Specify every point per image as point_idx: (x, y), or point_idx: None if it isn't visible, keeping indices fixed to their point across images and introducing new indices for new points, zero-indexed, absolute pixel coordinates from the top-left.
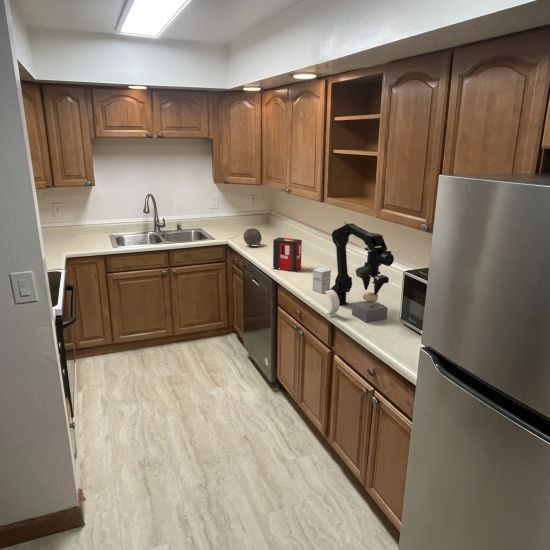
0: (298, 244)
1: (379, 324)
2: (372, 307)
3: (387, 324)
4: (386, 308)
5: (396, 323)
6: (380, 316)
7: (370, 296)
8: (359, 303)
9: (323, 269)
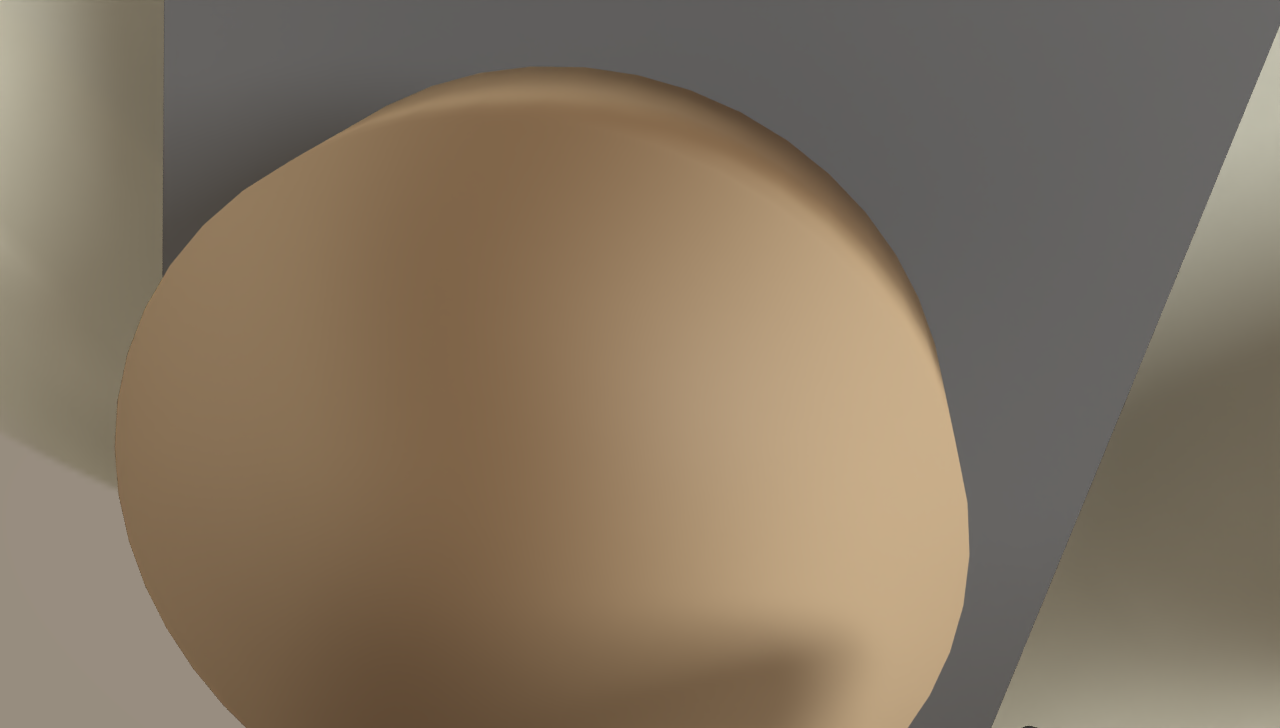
0: None
1: (147, 8)
2: None
3: (74, 183)
4: None
5: (50, 397)
6: None
7: (290, 315)
8: (1018, 93)
9: None
